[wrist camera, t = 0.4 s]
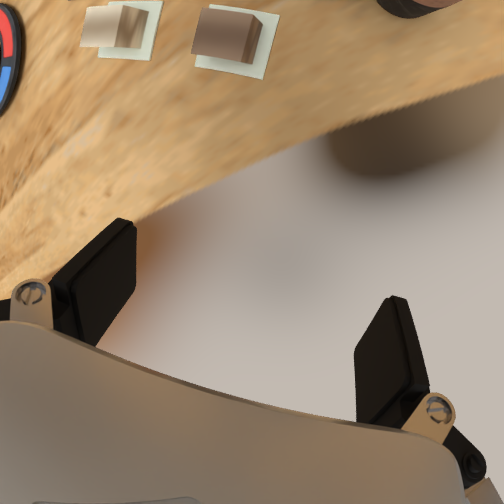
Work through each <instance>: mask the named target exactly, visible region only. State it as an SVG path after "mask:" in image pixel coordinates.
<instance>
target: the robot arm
mask: <svg viewBox="0 0 504 504" xmlns="http://www.w3.org/2000/svg"><path fill="white" fill-rule="evenodd" d="M136 240H137V228H136V227H135V226H133V222H132V221H129V220H125V219H122V218H117V219H115V220H114V221H113V222H112V223H111V224H110V225H108V226H107V227H106V228H105V229H104V230H103V231H102V232H100V233H99V234H98V235H97V236H96V237H95V238H94V239H93V240H91V241H90V242H89V243H88V244H87V245H86V246H85V247H84V248H83V249H82V250H80V251H79V252H78V253H77V254H76V255H75V256H74V257H73V258H72V259H71V260H70V261H69V262H68V263H67V264H66V265H65V266H64V267H62V268H61V269H60V270H59V271H58V272H57V273H56V274H55V275H54V277H52V280H51V281H50V282H49V283H48V284H47V283H46V282H45V281H43V280H41V279H28V280H25V281H23V282H21V283H19V284H18V285H17V286H16V287H15V288H14V289H13V291H12V295H11V298H10V299H5V300H0V504H504V503H503V502H502V500H501V498H500V496H499V494H498V492H497V490H496V489H495V487H494V485H493V484H492V482H491V480H490V478H489V477H488V478H487V479H485V477H484V476H485V474H486V461H485V459H484V456H483V455H482V454H481V452H480V451H479V450H478V449H477V448H476V447H475V446H474V445H473V444H472V443H471V442H470V441H468V440H467V439H466V438H465V437H464V436H463V435H462V434H461V433H460V432H459V431H458V430H457V429H456V428H455V427H454V426H453V424H454V421H455V418H456V415H455V409H454V407H453V405H452V403H451V402H450V401H449V400H448V399H447V397H445V396H444V395H442V394H439V393H430V389H429V386H430V384H429V380H428V375H427V371H426V367H425V363H424V359H423V355H422V351H421V347H420V344H419V340H418V336H417V332H416V329H415V325H414V322H413V319H412V315H411V312H410V309H409V306H408V302H407V300H406V299H404V298H400V297H397V296H393V295H392V296H391V297H390V298H386V299H385V300H384V301H383V303H382V305H381V306H380V308H379V310H378V311H377V313H376V315H375V316H374V318H373V320H372V321H371V323H370V325H369V326H368V328H367V330H366V331H365V333H364V335H363V336H362V338H361V339H360V341H359V342H358V344H357V346H356V348H355V351H354V367H355V388H356V418H357V419H356V422H352V421H346V420H341V419H335V418H329V417H324V416H318V415H313V414H308V413H303V412H298V411H294V410H289V409H284V408H280V407H276V406H272V405H268V404H263V403H259V402H255V401H251V400H248V399H244V398H240V397H236V396H233V395H229V394H226V393H222V392H219V391H215V390H212V389H209V388H205V387H202V386H199V385H196V384H193V383H190V382H186V381H184V380H180V379H177V378H174V377H171V376H168V375H166V374H163V373H160V372H157V371H154V370H152V369H149V368H146V367H144V366H141V365H138V364H136V363H133V362H131V361H127V360H125V359H123V358H121V357H118V356H116V355H113V354H111V353H108V352H106V351H103V350H101V349H98V348H96V347H95V346H96V345H97V343H98V342H99V340H100V339H101V337H102V336H103V334H104V333H105V332H106V330H107V328H108V327H109V326H110V324H111V323H112V321H113V320H114V319H115V317H116V316H117V314H118V313H119V311H120V310H121V309H122V307H123V306H124V305H125V303H126V302H127V300H128V299H129V298H130V296H131V295H132V294H133V292H134V290H135V287H136Z"/></svg>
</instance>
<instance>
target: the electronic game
mask: <svg viewBox="0 0 504 504" xmlns="http://www.w3.org/2000/svg"><path fill="white" fill-rule="evenodd" d="M0 42H1V52H2V56H1V66H0V114H1V113H2V112H3V110H4V109H5V107H6V106H7V104H8V102H9V100H10V97H11V95H12V92H13V90H14V87H15V83H16V80H17V75H18V71H19V65H20V57H21V32H20V26H19V22H18V19H17V16H16V14H15V13H14V11H13V10H12V9H11V7H9V6H8V5H6V4H3V3H0Z"/></svg>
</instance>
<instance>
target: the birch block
mask: <svg viewBox="0 0 504 504" xmlns="http://www.w3.org/2000/svg"><path fill="white" fill-rule="evenodd" d="M148 14H149V11H145V10H141V9H138V8H134V7H130V6H126V5H109V6H94V7H87V12H86V16H85V21H84V26H83V31H82V36H81V42H80V47H122V48H141V45H142V40H143V36H144V31H145V26H146V22H147V18H148Z"/></svg>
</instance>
